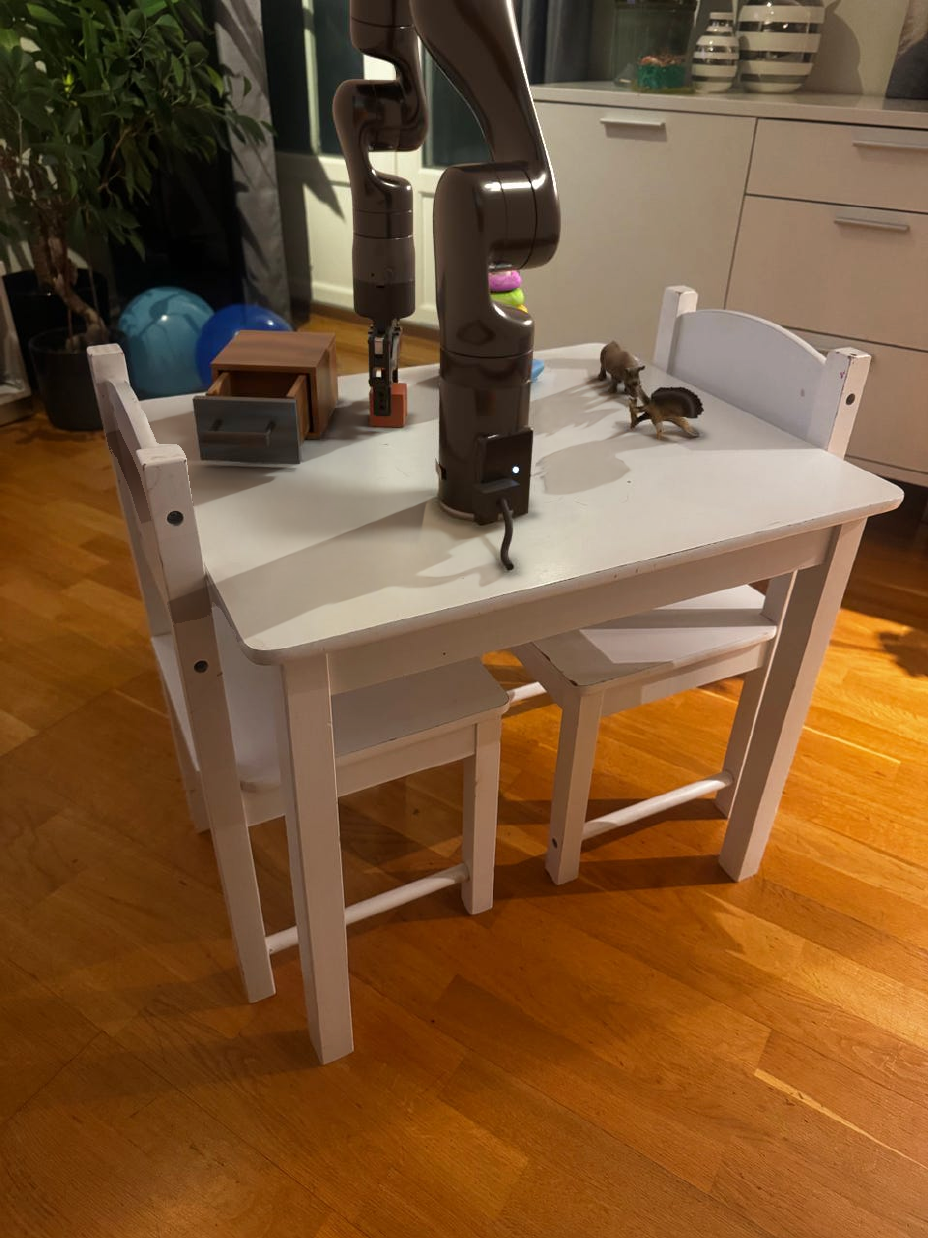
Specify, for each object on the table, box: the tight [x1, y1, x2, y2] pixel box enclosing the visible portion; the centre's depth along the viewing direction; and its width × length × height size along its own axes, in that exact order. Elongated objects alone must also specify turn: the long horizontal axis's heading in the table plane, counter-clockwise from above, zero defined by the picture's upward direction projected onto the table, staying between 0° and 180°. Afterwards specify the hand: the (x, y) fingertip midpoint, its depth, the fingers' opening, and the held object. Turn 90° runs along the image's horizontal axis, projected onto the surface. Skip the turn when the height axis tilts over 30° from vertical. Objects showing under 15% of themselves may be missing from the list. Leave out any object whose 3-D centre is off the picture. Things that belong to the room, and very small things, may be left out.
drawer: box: [192, 370, 313, 465], centre depth 106 cm, size 19×11×7 cm, turn 178°
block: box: [368, 382, 408, 428], centre depth 118 cm, size 4×4×4 cm
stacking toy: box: [437, 270, 546, 383], centre depth 128 cm, size 14×13×23 cm
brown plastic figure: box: [628, 386, 705, 440], centre depth 117 cm, size 8×7×9 cm
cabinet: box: [210, 329, 340, 440], centre depth 117 cm, size 15×13×9 cm
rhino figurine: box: [597, 340, 646, 399], centre depth 130 cm, size 4×14×6 cm, turn 10°
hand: (386, 403), depth 118 cm, fingers open, 8 cm apart
